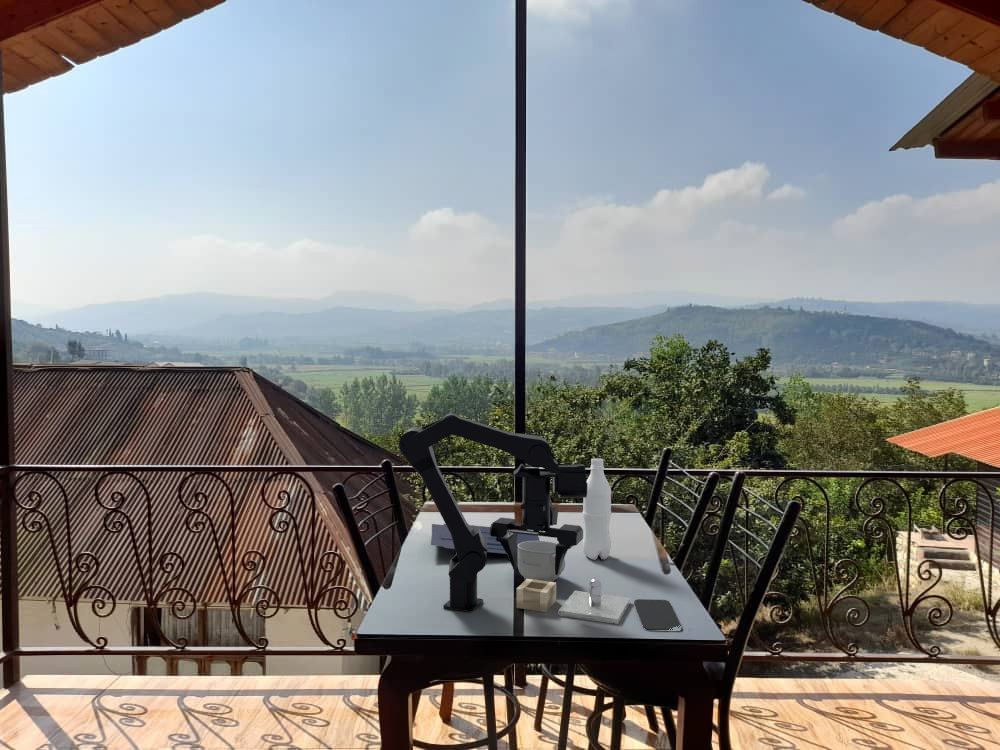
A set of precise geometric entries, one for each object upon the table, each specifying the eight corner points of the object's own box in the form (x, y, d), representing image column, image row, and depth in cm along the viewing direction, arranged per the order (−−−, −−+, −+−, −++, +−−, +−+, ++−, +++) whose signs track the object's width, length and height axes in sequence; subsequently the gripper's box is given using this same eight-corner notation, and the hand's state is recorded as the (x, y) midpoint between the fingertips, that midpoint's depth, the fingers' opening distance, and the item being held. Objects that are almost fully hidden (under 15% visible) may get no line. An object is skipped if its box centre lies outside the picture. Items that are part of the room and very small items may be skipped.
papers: (430, 531, 198) (432, 518, 198) (535, 541, 201) (536, 529, 201) (429, 558, 174) (431, 543, 174) (548, 569, 177) (550, 555, 176)
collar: (546, 612, 142) (546, 592, 142) (516, 607, 145) (516, 588, 145) (556, 601, 148) (556, 582, 148) (527, 597, 151) (527, 578, 151)
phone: (644, 629, 133) (633, 599, 148) (644, 633, 133) (633, 602, 148) (683, 629, 133) (668, 599, 148) (683, 634, 133) (668, 603, 148)
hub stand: (618, 624, 136) (618, 592, 136) (558, 615, 141) (558, 585, 140) (630, 602, 147) (630, 573, 147) (574, 595, 152) (574, 566, 151)
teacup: (510, 574, 165) (510, 541, 165) (552, 569, 169) (552, 536, 169) (534, 594, 152) (534, 558, 152) (578, 588, 156) (579, 553, 156)
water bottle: (610, 562, 174) (611, 462, 173) (581, 560, 176) (581, 461, 174) (611, 553, 181) (612, 457, 180) (583, 552, 183) (584, 456, 182)
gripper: (590, 493, 150) (589, 565, 150) (508, 486, 156) (508, 555, 157) (576, 504, 139) (575, 582, 140) (489, 496, 146) (488, 570, 147)
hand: (535, 571), depth 146 cm, fingers open, 9 cm apart
